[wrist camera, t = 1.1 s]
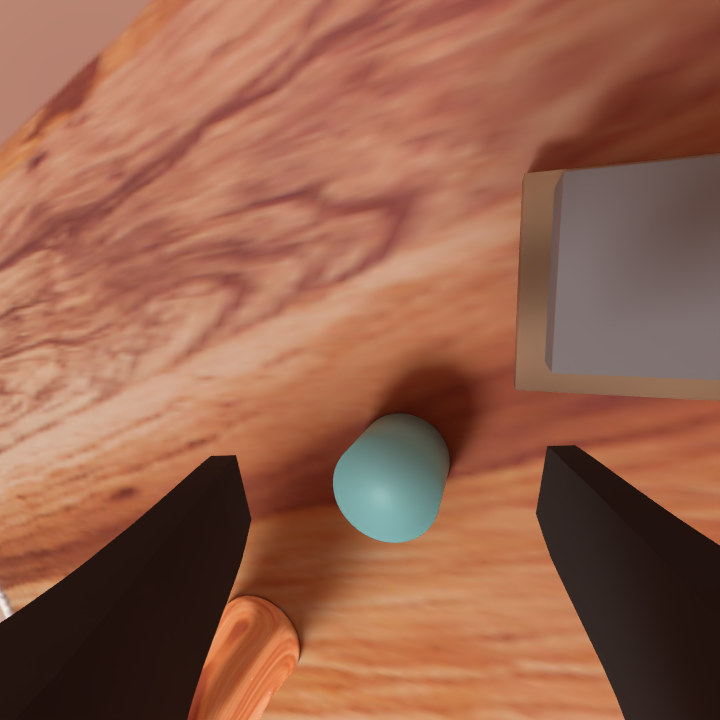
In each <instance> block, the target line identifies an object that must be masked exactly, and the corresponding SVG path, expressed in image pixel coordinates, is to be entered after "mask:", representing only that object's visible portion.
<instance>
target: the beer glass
mask: <svg viewBox="0 0 720 720" xmlns="http://www.w3.org/2000/svg"><path fill="white" fill-rule="evenodd" d="M299 654H300V645H299V639H298V636H297V633H296V631H295V629H294V627H293V625H292V623H291V622H290V620H289V619H288V617H287V616H286V615H285V614H284V613H283V612H282V611H281V610H280V609H279V608H278V607H277V606H275V605H274V604H272V603H271V602H269V601H267V600H265V599H263V598H260V597H256V596H241V597H237V598H235V599H234V600H232V601H231V602H230V603H228V605H227V606H226V607H225V609H224V612H223V614H222V617H221V620H220V623H219V625H218V628H217V631H216V634H215V636H214V639H213V642H212V645H211V647H210V650H209V653H208V655H207V658H206V661H205V664H204V666H203V669H202V672H201V675H200V678H199V682H198V685H197V688H196V691H195V694H194V697H193V701H192V705H191V708H190V712H189V716H188V719H187V720H259V719H260V717H261V715H262V713H263V711H264V709H265V708H266V706H267V704H268V703H269V701H270V700H271V698H272V697H273V695H274V694H275V693H276V691H277V690H278V689H279V688H280V686H281V685H282V684H283V683H284V681H285V680H286V679H287V678H288V676H289V675H290V674H291V672H292V671H293V670H294V668H295V666H296V664H297V662H298V659H299Z"/></svg>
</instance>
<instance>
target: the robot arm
mask: <svg viewBox="0 0 720 720" xmlns="http://www.w3.org/2000/svg"><path fill="white" fill-rule="evenodd" d="M536 515H537V518H538V521H539V524H540V527H541V530H542V533H543V536H544V539H545V542H546V545H547V548H548V551H549V553H550V556H551V559H552V561H553V563H554V565H555V567H556V570H557V572H558V574H559V576H560V578H561V580H562V582H563V584H564V586H565V589H566V591H567V593H568V595H569V597H570V599H571V601H572V603H573V605H574V607H575V609H576V612H577V614H578V616H579V618H580V620H581V622H582V624H583V626H584V628H585V630H586V632H587V634H588V637H589V639H590V641H591V643H592V645H593V647H594V649H595V651H596V653H597V655H598V657H599V659H600V661H601V664H602V666H603V668H604V670H605V672H606V675H607V677H608V679H609V681H610V684H611V686H612V688H613V690H614V693H615V695H616V697H617V700H618V703H619V705H620V708H621V710H622V713H623V716H624V718H625V720H720V545H718V544H717V543H715V542H714V541H712V540H710V539H709V538H707V537H706V536H704V535H703V534H701V533H700V532H698V531H697V530H695V529H694V528H692V527H691V526H689V525H688V524H686V523H685V522H683V521H682V520H680V519H679V518H677V517H676V516H674V515H673V514H671V513H670V512H668V511H667V510H666V509H664V508H663V507H661V506H660V505H658V504H657V503H656V502H654V501H653V500H651V499H650V498H648V497H647V496H646V495H644V494H643V493H641V492H640V491H639V490H637V489H636V488H634V487H633V486H632V485H630V484H629V483H628V482H626V481H625V480H623V479H622V478H621V477H619V476H618V475H616V474H615V473H614V472H612V471H611V470H610V469H608V468H607V467H605V466H604V465H603V464H601V463H600V462H598V461H597V460H596V459H594V458H593V457H591V456H590V455H589V454H587V453H586V452H584V451H583V450H581V449H580V448H578V447H577V446H575V445H571V446H547V451H546V457H545V463H544V469H543V475H542V481H541V487H540V493H539V499H538V505H537V511H536ZM250 523H251V516H250V512H249V507H248V503H247V499H246V495H245V491H244V487H243V483H242V478H241V474H240V470H239V466H238V462H237V458H236V455H229V456H210V457H209V458H208V459H207V460H205V461H204V462H203V463H202V464H201V465H200V466H198V467H197V468H196V469H195V470H194V471H193V472H192V473H190V474H189V475H188V476H187V477H186V478H185V479H184V480H183V481H181V482H180V483H179V484H178V485H177V486H176V487H175V488H174V489H172V490H171V491H170V492H169V493H168V494H167V495H166V496H165V497H163V498H162V499H161V500H160V501H159V502H158V503H157V504H155V505H154V506H153V507H152V508H151V509H150V510H148V511H147V512H146V513H145V514H144V515H143V516H142V517H140V518H139V519H138V520H137V521H136V522H135V523H133V524H132V525H131V526H130V527H128V528H127V529H126V530H125V531H124V532H122V533H121V534H120V535H119V536H117V537H116V538H115V539H114V540H112V541H111V542H110V543H109V544H108V545H106V546H105V547H104V548H103V549H101V550H100V551H99V552H98V553H96V554H95V555H94V556H93V557H92V558H90V559H89V560H88V561H86V562H85V563H84V564H83V565H81V566H80V567H79V568H77V569H76V570H75V571H73V572H72V573H71V574H69V575H68V576H67V577H65V578H64V579H63V580H61V581H60V582H59V583H57V584H56V585H54V586H53V587H52V588H50V589H49V590H47V591H46V592H45V593H43V594H42V595H40V596H39V597H37V598H36V599H35V600H33V601H32V602H30V603H29V604H28V605H26V606H25V607H23V608H22V609H20V610H19V611H17V612H16V613H15V614H13V615H12V616H10V617H9V618H7V619H5V620H4V621H2V622H1V623H0V720H187V719H188V716H189V712H190V708H191V705H192V701H193V697H194V694H195V691H196V688H197V685H198V682H199V678H200V675H201V672H202V669H203V666H204V664H205V661H206V658H207V655H208V653H209V650H210V647H211V645H212V642H213V639H214V636H215V634H216V631H217V628H218V625H219V623H220V620H221V617H222V614H223V612H224V609H225V606H226V604H227V601H228V598H229V595H230V592H231V590H232V587H233V584H234V581H235V579H236V576H237V573H238V570H239V567H240V564H241V561H242V557H243V553H244V549H245V545H246V541H247V536H248V532H249V527H250Z"/></svg>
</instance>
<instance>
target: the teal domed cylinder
mask: <svg viewBox="0 0 720 720" xmlns="http://www.w3.org/2000/svg"><path fill="white" fill-rule="evenodd" d="M449 467H450V456H449V451H448V448H447V445H446V443H445V441H444V439H443V438H442V436H441V434H440V433H439V432H438V431H437V430H436V429H435V428H434V427H433V426H432V425H431V424H429V423H428V422H427V421H425V420H423V419H421V418H419V417H417V416H414V415H410V414H404V413H395V414H389V415H385V416H383V417H380V418H379V419H377V420H375V421H374V422H373V423H372V424H371V425H370V426H369V427H368V428H367V429H366V430H365V431H364V432H363V433H362V435H361V436H360V437H359V438H358V439H357V440H356V441H355V442H354V443H353V444H352V445H351V446H350V448H349V449H348V450H347V451H346V452H345V453H344V454H343V455H342V456H341V458H340V459H339V461H338V463H337V465H336V468H335V471H334V476H333V489H334V495H335V498H336V501H337V504H338V506H339V508H340V510H341V512H342V513H343V515H344V516H345V517H346V519H347V520H348V521H349V522H350V523H351V524H352V525H353V526H354V527H355V528H356V529H358V530H359V531H360V532H362V533H363V534H365V535H367V536H369V537H371V538H373V539H376V540H379V541H383V542H390V543H400V542H406V541H410V540H413V539H415V538H417V537H419V536H421V535H422V534H423V533H425V532H426V531H427V530H428V529H429V528H430V526H431V525H432V524H433V522H434V520H435V519H436V516H437V514H438V510H439V506H440V502H441V499H442V495H443V491H444V487H445V484H446V480H447V476H448V472H449Z"/></svg>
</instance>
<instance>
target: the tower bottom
mask: <svg viewBox="0 0 720 720" xmlns="http://www.w3.org/2000/svg"><path fill="white" fill-rule="evenodd" d="M717 155H720V153H711V154H701V155H692V156H683V157H673V158H664V159H655V160H645V161H636V162H627V163H617V164H608V165H598V166H589V167H580V168H570V169H561V170H552V171H542V172H533V173H525V174H524V178H523V183H522V201H521V224H520V247H519V271H518V294H517V317H516V340H515V363H514V386H515V390H526V391H545V392H564V393H582V394H601V395H620V396H639V397H658V398H677V399H696V400H715V401H720V380H706V379H682V378H657V377H632V376H608V375H583V374H559V373H551V371H550V370H549V368H548V366H547V365H546V363H545V346H546V328H547V311H548V293H549V275H550V258H551V240H552V223H553V205H554V188H555V187H556V185H557V183H558V181H559V179H560V177H561V176H562V174H563V172H566V171H575V170H585V169H594V168H604V167H613V166H623V165H632V164H642V163H651V162H660V161H670V160H679V159H689V158H698V157H708V156H717Z"/></svg>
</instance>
